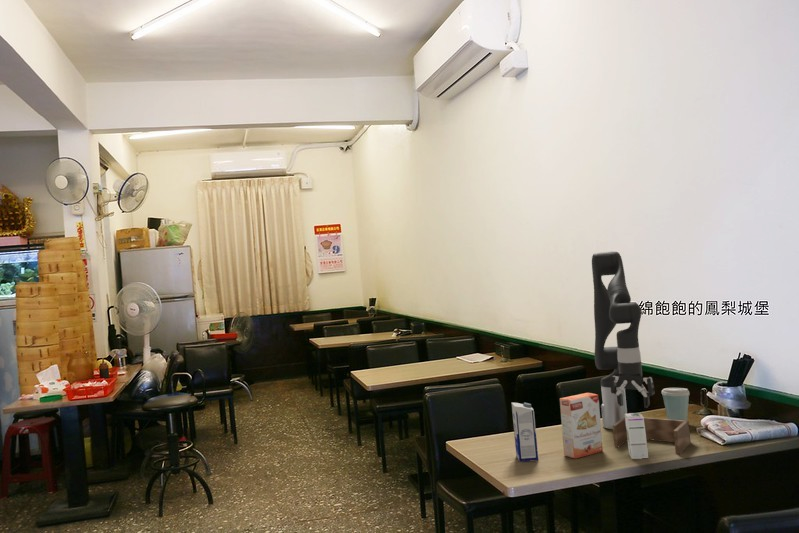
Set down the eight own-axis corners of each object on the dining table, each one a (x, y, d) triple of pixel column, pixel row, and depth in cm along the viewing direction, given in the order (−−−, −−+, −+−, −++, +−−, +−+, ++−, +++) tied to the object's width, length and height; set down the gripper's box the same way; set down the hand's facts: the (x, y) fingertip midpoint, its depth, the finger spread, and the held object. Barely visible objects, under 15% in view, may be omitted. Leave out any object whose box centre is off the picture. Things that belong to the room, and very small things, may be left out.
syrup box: (649, 459, 199) (644, 416, 199) (630, 459, 200) (626, 417, 201) (645, 454, 204) (641, 412, 205) (628, 454, 206) (624, 413, 206)
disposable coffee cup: (660, 422, 243) (657, 386, 244) (687, 421, 242) (684, 384, 242) (668, 428, 233) (665, 391, 233) (697, 427, 231) (693, 389, 232)
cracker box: (575, 459, 205) (570, 400, 205) (563, 456, 210) (558, 397, 211) (604, 451, 211) (598, 393, 212) (592, 448, 216) (586, 391, 217)
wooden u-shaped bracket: (614, 446, 215) (612, 425, 216) (628, 436, 227) (626, 415, 227) (679, 454, 201) (677, 431, 201) (690, 442, 213) (688, 420, 213)
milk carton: (516, 456, 214) (511, 401, 215) (534, 454, 214) (529, 400, 215) (519, 461, 207) (514, 405, 208) (538, 460, 207) (533, 404, 208)
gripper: (653, 358, 201) (658, 405, 201) (612, 357, 210) (617, 402, 210) (647, 362, 195) (651, 410, 195) (605, 361, 205) (609, 407, 204)
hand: (633, 406), depth 203 cm, fingers open, 8 cm apart
